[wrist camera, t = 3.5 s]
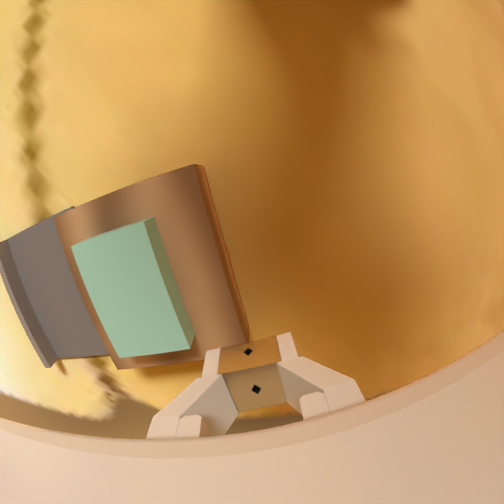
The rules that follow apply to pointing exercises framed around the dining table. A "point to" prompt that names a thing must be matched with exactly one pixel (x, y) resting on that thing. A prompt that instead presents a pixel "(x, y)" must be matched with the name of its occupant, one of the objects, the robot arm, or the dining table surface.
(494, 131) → the dining table surface
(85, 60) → the dining table surface
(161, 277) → the pale green rectangular block
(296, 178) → the dining table surface
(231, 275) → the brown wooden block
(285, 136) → the dining table surface
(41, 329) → the tray
